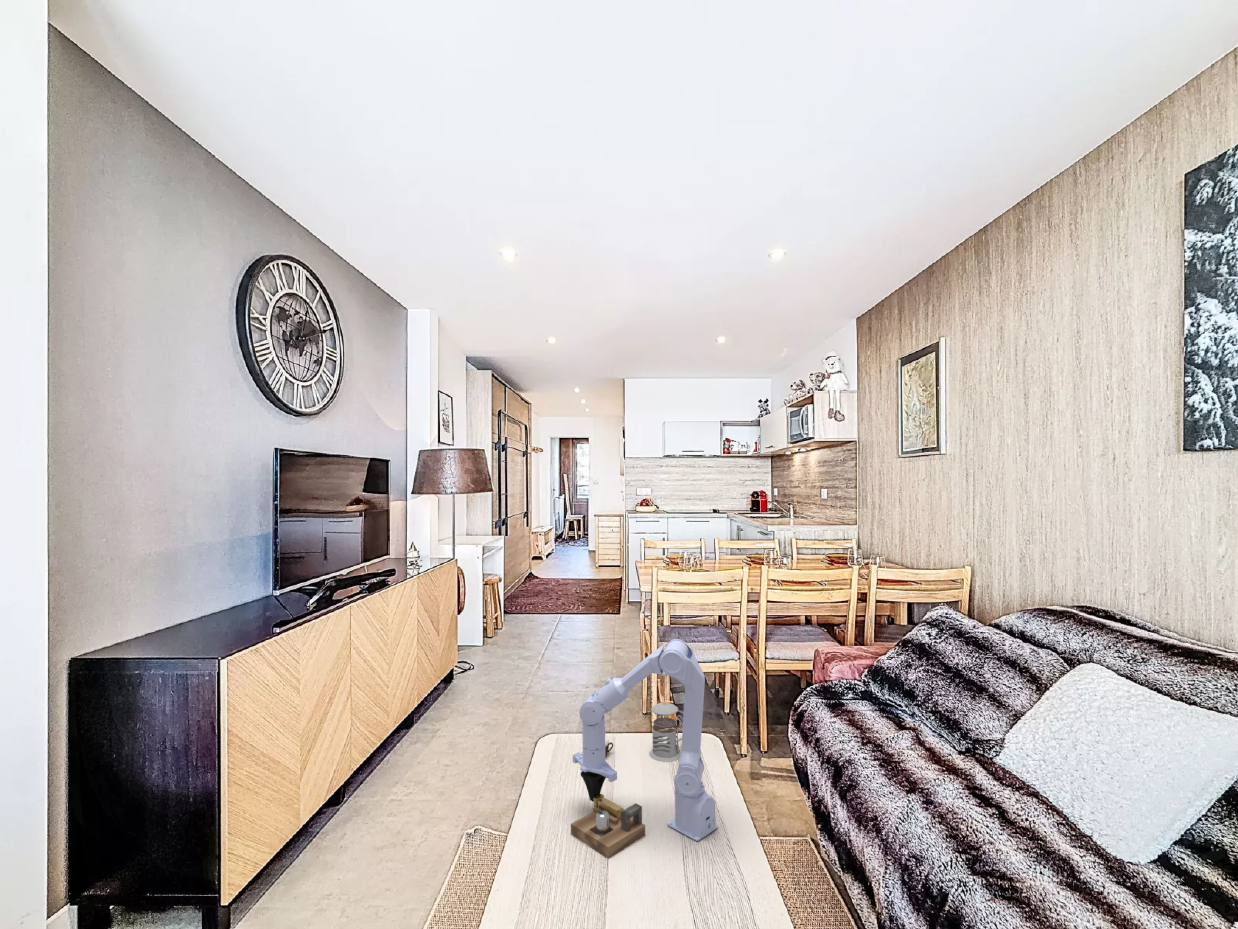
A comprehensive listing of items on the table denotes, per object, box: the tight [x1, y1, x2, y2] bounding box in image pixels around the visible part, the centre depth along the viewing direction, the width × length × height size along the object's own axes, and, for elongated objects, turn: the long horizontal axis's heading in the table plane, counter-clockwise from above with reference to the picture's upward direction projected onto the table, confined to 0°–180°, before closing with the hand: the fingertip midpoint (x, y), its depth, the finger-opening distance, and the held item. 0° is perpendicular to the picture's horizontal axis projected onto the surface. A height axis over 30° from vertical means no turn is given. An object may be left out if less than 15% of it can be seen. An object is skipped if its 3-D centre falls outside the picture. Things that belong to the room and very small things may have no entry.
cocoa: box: [605, 735, 614, 757], centre depth 189 cm, size 10×6×12 cm, turn 82°
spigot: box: [596, 811, 609, 837], centre depth 147 cm, size 3×3×6 cm
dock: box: [570, 803, 646, 859], centre depth 148 cm, size 13×12×6 cm
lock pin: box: [593, 793, 624, 819], centre depth 153 cm, size 8×3×3 cm, turn 44°
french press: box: [648, 671, 683, 763], centre depth 188 cm, size 10×12×25 cm
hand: (594, 799), depth 157 cm, fingers closed
